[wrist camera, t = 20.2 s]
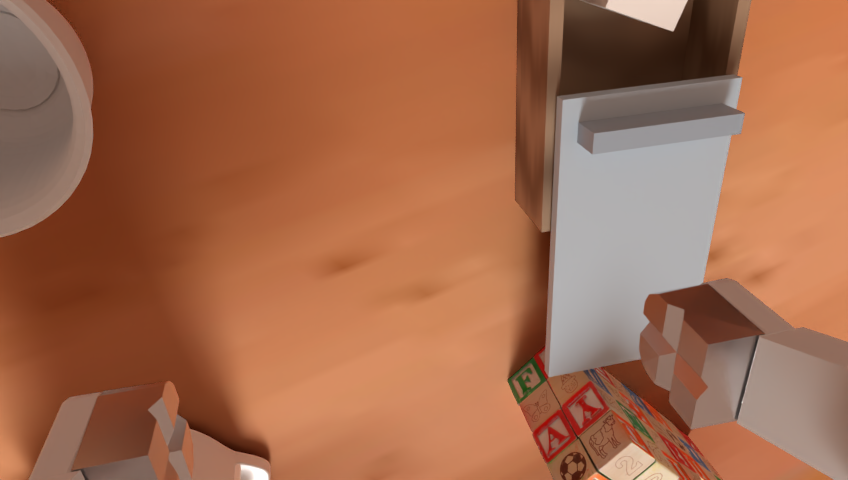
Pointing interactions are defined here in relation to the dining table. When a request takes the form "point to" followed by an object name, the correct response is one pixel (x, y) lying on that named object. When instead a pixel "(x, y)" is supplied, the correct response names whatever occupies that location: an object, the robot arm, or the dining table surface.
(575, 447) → the stack of blocks
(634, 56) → the box
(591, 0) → the cube
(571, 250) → the lid
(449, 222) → the dining table surface
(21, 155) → the teacup
